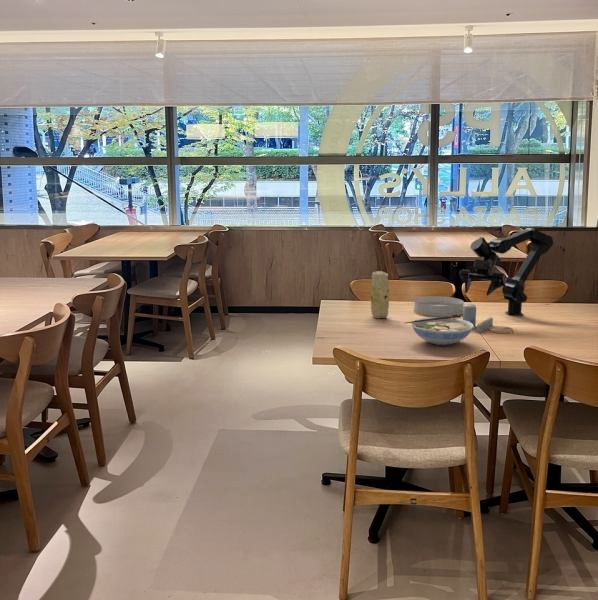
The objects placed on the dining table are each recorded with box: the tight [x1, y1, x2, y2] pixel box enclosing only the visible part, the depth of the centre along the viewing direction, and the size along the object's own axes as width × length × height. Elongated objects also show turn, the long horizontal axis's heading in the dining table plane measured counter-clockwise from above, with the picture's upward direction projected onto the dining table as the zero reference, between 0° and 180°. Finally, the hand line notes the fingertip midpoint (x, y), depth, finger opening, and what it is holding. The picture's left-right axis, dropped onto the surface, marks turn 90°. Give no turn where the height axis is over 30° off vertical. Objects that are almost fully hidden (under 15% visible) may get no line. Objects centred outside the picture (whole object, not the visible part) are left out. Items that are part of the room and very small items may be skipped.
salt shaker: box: [462, 303, 477, 329], centre depth 275 cm, size 5×5×9 cm
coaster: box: [488, 325, 514, 334], centre depth 269 cm, size 9×9×1 cm
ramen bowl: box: [404, 314, 474, 347], centre depth 250 cm, size 25×23×8 cm
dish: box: [413, 295, 465, 317], centre depth 305 cm, size 22×22×5 cm
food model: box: [370, 270, 390, 319], centre depth 293 cm, size 10×7×20 cm
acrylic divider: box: [476, 317, 494, 334], centre depth 272 cm, size 16×1×3 cm, turn 146°
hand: (476, 293), depth 279 cm, fingers open, 9 cm apart
